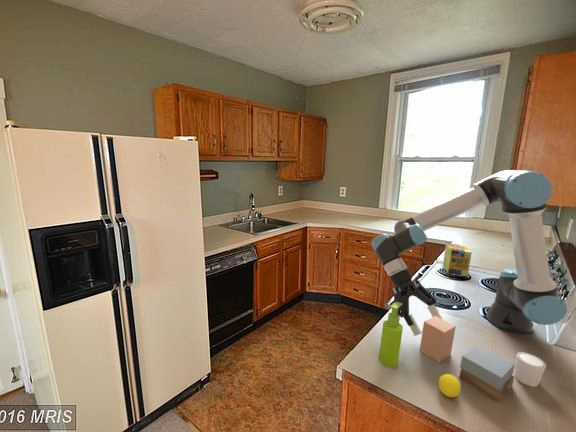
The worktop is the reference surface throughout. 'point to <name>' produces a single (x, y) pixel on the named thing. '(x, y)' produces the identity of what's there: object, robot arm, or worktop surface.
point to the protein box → (457, 259)
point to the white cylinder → (529, 369)
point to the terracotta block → (437, 338)
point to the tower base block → (486, 385)
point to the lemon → (449, 385)
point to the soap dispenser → (391, 338)
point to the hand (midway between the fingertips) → (430, 328)
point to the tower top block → (487, 366)
